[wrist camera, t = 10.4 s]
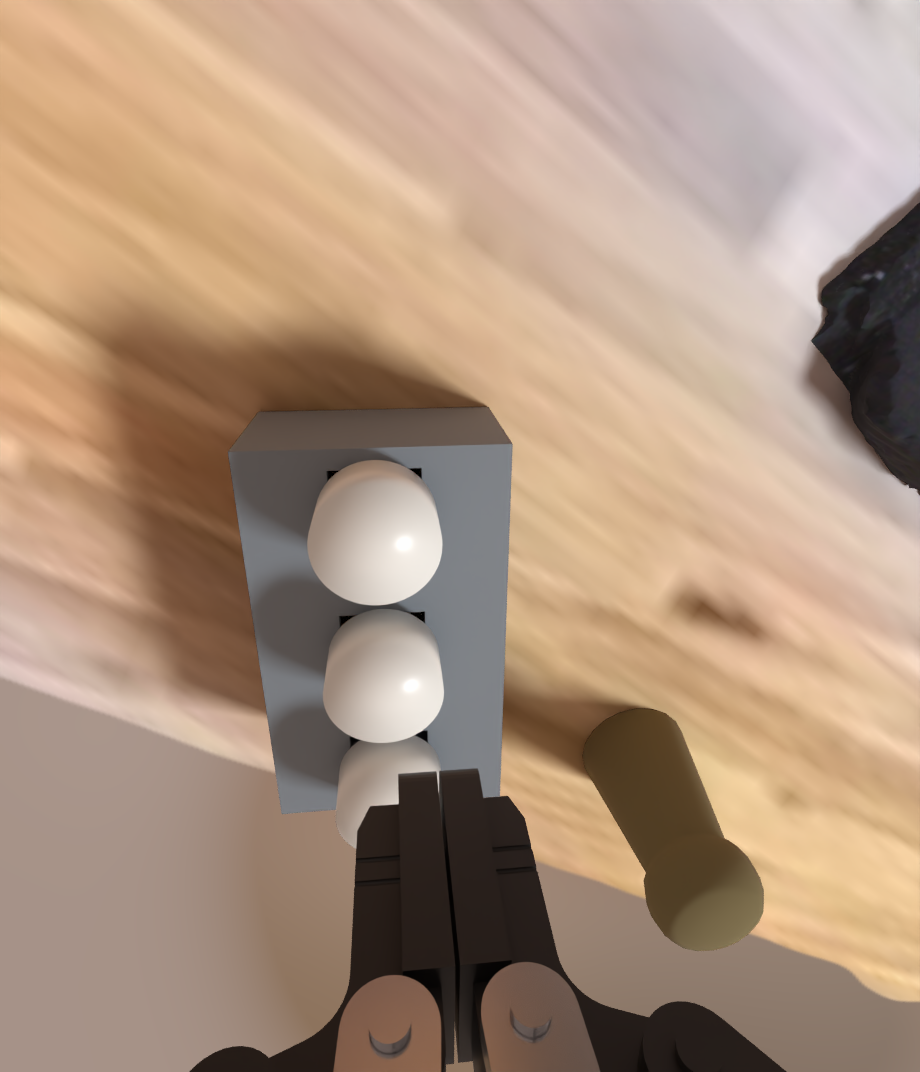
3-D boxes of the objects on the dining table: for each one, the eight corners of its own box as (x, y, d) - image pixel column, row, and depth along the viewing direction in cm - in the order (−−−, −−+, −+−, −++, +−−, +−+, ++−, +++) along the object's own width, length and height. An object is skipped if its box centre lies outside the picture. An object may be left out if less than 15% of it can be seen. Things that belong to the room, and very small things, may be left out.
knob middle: (334, 546, 30) (317, 648, 23) (428, 542, 31) (443, 641, 23) (341, 626, 32) (327, 747, 24) (430, 622, 33) (444, 738, 25)
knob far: (343, 654, 33) (331, 779, 25) (430, 649, 33) (444, 770, 25) (349, 723, 35) (339, 860, 27) (432, 717, 35) (445, 850, 27)
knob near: (324, 419, 28) (300, 486, 20) (426, 417, 28) (441, 481, 21) (332, 514, 30) (313, 608, 22) (428, 511, 30) (443, 602, 22)
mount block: (258, 411, 28) (227, 451, 22) (488, 406, 29) (512, 443, 23) (297, 725, 35) (281, 814, 29) (482, 712, 36) (499, 796, 30)
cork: (691, 767, 39) (796, 945, 29) (597, 801, 40) (670, 989, 30) (670, 693, 37) (777, 861, 27) (570, 730, 37) (638, 909, 27)
